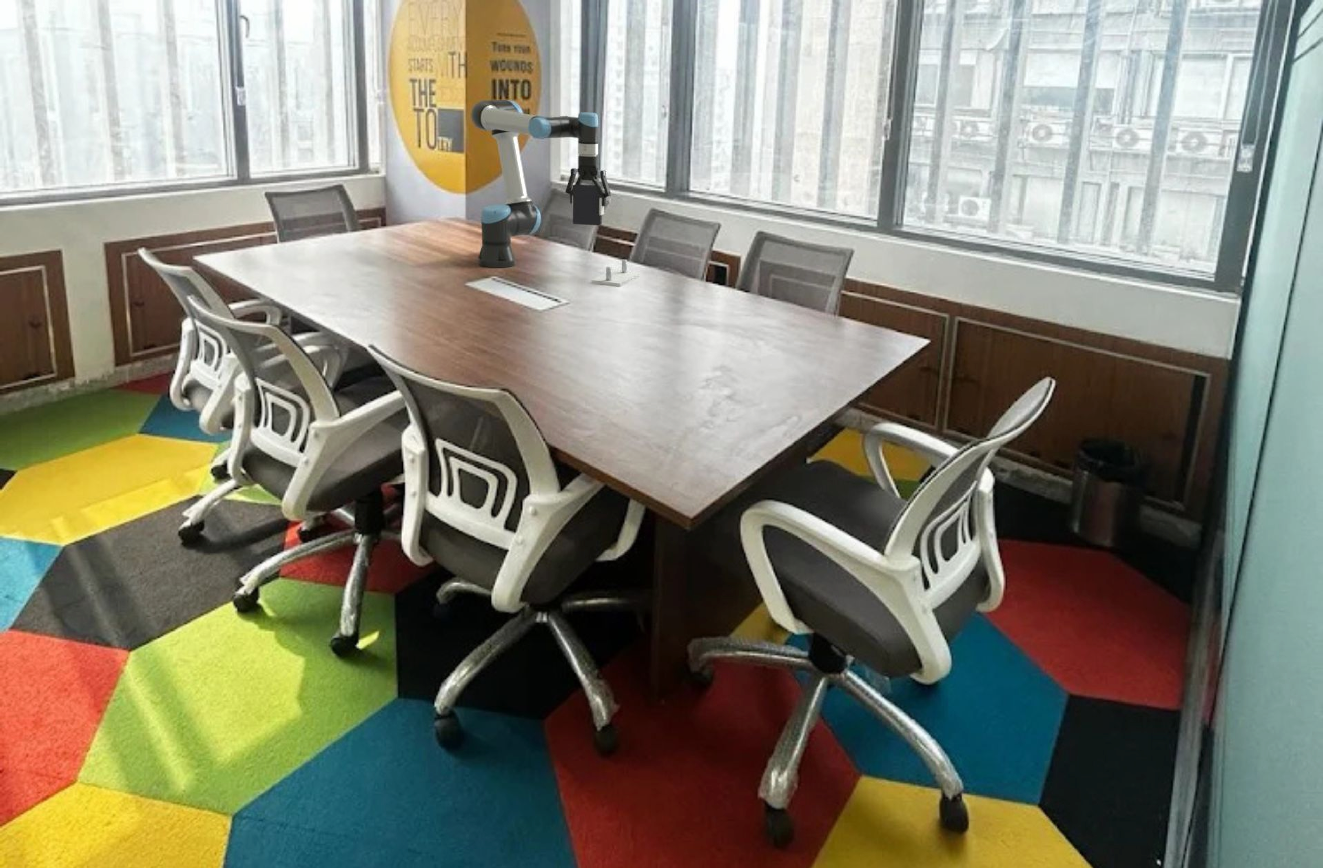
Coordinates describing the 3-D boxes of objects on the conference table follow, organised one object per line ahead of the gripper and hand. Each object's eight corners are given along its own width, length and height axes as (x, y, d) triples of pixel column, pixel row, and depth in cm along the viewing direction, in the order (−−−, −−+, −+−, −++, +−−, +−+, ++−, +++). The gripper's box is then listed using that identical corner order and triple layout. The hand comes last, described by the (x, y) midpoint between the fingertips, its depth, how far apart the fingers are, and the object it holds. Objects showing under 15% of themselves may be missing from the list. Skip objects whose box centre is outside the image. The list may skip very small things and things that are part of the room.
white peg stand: (591, 283, 372) (591, 267, 369) (613, 272, 391) (613, 257, 389) (619, 286, 368) (620, 270, 366) (640, 275, 387) (641, 260, 385)
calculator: (602, 224, 377) (602, 185, 372) (600, 225, 373) (600, 186, 368) (574, 222, 378) (574, 183, 373) (572, 224, 374) (572, 185, 369)
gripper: (556, 154, 367) (556, 212, 374) (612, 157, 359) (611, 217, 367) (564, 152, 373) (565, 210, 381) (620, 156, 366) (619, 214, 374)
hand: (588, 213), depth 374 cm, fingers closed on calculator, 11 cm apart
